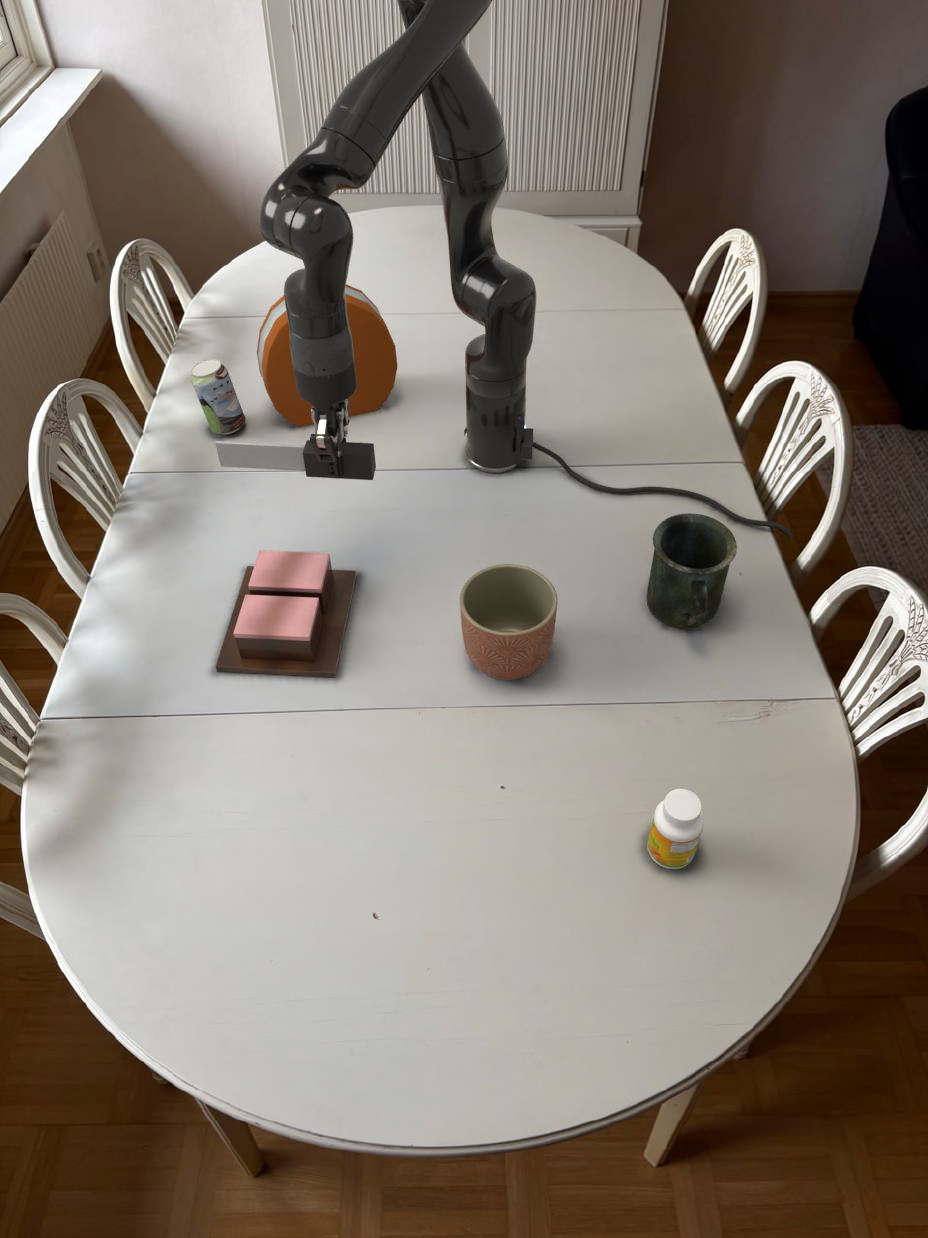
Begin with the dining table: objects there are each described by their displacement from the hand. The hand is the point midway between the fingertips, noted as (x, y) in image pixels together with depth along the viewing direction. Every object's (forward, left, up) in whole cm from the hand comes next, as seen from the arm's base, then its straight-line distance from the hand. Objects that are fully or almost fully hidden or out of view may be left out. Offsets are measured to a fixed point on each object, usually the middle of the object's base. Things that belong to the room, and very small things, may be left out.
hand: (337, 467), depth 134 cm
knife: (+6, 0, -1) cm, 6 cm away
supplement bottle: (-44, +44, -18) cm, 65 cm away
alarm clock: (+9, -39, -18) cm, 43 cm away
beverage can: (+26, -31, -18) cm, 44 cm away
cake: (+7, +12, -17) cm, 22 cm away
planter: (-24, +16, -18) cm, 34 cm away
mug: (-48, +7, -18) cm, 51 cm away
